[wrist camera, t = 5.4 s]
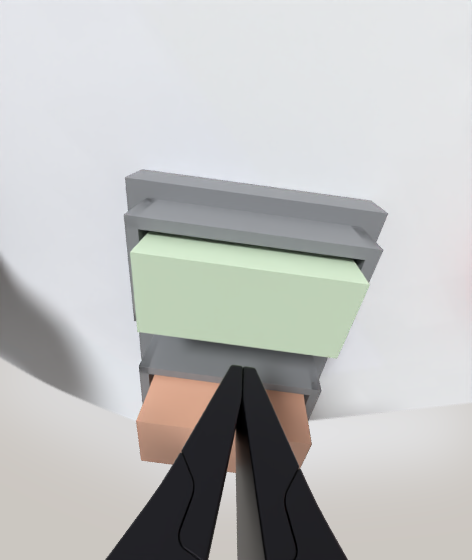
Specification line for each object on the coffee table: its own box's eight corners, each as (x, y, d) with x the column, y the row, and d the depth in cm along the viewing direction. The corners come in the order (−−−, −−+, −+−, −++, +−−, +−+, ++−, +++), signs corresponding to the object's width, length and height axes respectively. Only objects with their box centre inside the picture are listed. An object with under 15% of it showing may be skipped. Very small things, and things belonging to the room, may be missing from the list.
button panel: (153, 370, 26) (130, 426, 21) (142, 169, 16) (96, 191, 12) (300, 389, 26) (309, 450, 21) (371, 200, 17) (416, 234, 12)
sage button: (161, 288, 17) (137, 331, 14) (159, 220, 15) (129, 252, 11) (320, 309, 17) (336, 358, 14) (343, 245, 15) (369, 284, 11)
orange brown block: (159, 404, 21) (141, 460, 18) (158, 365, 19) (136, 421, 15) (288, 421, 21) (294, 480, 18) (301, 384, 19) (311, 444, 15)
